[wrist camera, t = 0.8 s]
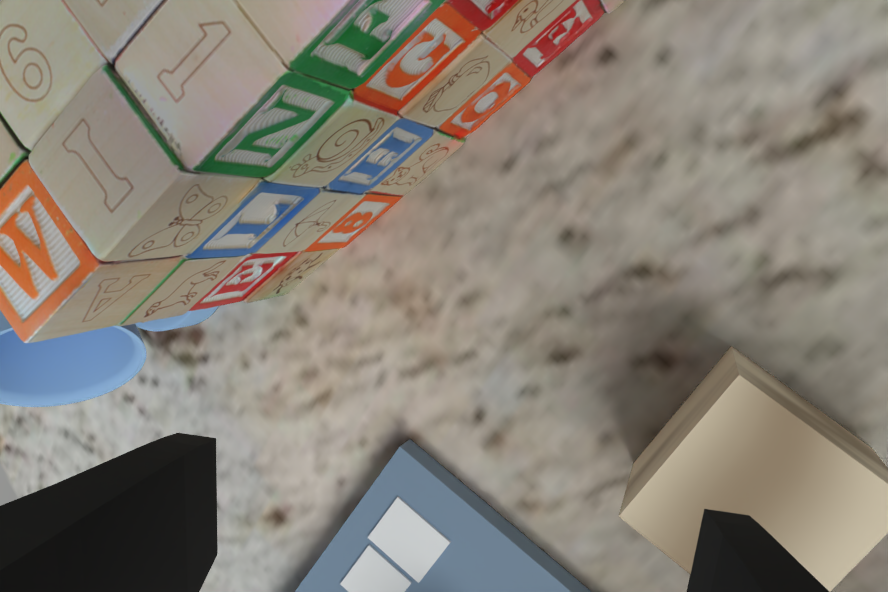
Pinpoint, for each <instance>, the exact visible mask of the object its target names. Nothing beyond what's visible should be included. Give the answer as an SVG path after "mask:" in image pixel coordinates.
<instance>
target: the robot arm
mask: <svg viewBox="0 0 888 592" xmlns="http://www.w3.org/2000/svg"><path fill="white" fill-rule="evenodd" d="M216 556H217V488H216V438H210V437H203V436H196V435H189V434H182V433H176V434H173V435H170V436H167V437H164V438H161V439H158V440H156V441H153V442H151V443H148V444H146V445H144V446H141V447H139V448H137V449H134V450H132V451H130V452H127V453H125V454H123V455H121V456H118V457H116V458H114V459H111V460H109V461H107V462H105V463H102V464H100V465H98V466H95V467H93V468H91V469H89V470H86V471H84V472H82V473H79V474H77V475H75V476H73V477H70V478H68V479H66V480H63V481H61V482H59V483H56V484H54V485H52V486H49V487H47V488H44V489H42V490H39V491H37V492H34V493H32V494H29V495H27V496H24V497H22V498H19V499H17V500H14V501H12V502H9V503H6V504H5V505H2V506H0V592H199V591H200V589H201V587H202V585H203V583H204V581H205V579H206V576H207V574H208V572H209V570H210V568H211V566H212V564H213V562H214V560H215V558H216ZM687 592H829V591H828V590H827V589H826V588H825V587H824V586H823V585H822V584H821V583H820V582H819V581H818V580H817V579H816V578H815V577H814V576H813V575H812V574H811V573H810V572H809V571H807V570H806V569H805V568H804V567H803V566H802V565H801V564H800V563H799V562H798V561H797V560H796V559H795V558H794V557H793V556H792V555H791V554H790V553H789V552H788V551H787V550H786V549H785V548H784V547H783V546H782V545H781V544H780V543H779V542H778V541H777V540H776V539H775V538H774V537H773V536H772V535H771V534H769V533H768V532H767V531H766V530H765V529H764V528H763V527H762V526H761V525H760V524H759V523H758V522H756V521H755V520H754V519H753V518H752V517H751V516H749V515H744V514H737V513H730V512H723V511H716V510H709V509H704V513H703V517H702V522H701V527H700V532H699V536H698V541H697V546H696V551H695V555H694V560H693V565H692V570H691V574H690V579H689V584H688V589H687Z"/></svg>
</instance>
